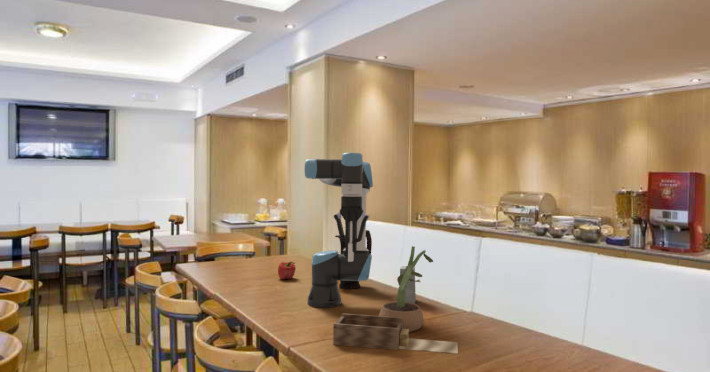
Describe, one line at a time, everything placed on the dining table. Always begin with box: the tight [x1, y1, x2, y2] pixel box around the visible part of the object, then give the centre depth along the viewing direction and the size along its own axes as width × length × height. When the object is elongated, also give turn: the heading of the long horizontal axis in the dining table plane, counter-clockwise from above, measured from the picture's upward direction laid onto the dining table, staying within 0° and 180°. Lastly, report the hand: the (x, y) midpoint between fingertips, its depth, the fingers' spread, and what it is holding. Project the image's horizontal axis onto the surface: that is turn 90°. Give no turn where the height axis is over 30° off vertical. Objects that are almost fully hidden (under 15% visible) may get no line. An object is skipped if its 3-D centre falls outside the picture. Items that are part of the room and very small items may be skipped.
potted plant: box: [378, 245, 434, 333], centre depth 184 cm, size 22×18×30 cm
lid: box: [398, 329, 459, 355], centre depth 162 cm, size 19×10×5 cm, turn 78°
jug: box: [335, 229, 373, 290], centre depth 247 cm, size 21×18×30 cm
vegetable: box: [277, 261, 296, 280], centre depth 266 cm, size 11×10×10 cm
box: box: [332, 313, 403, 351], centre depth 166 cm, size 22×13×7 cm, turn 78°
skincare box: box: [399, 265, 417, 304], centre depth 220 cm, size 8×7×16 cm
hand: (350, 260), depth 173 cm, fingers closed
